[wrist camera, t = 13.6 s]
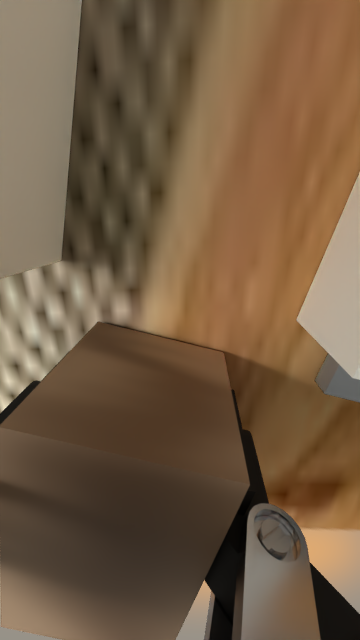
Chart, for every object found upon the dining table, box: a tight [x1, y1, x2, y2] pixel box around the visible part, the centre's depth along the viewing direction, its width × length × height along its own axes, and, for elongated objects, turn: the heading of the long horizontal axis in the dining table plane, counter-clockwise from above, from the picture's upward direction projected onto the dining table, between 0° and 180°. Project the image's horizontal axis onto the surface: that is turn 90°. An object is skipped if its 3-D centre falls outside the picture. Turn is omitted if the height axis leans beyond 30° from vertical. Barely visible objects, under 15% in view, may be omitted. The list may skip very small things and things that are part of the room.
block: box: [0, 322, 250, 640], centre depth 8 cm, size 4×7×5 cm, turn 166°
